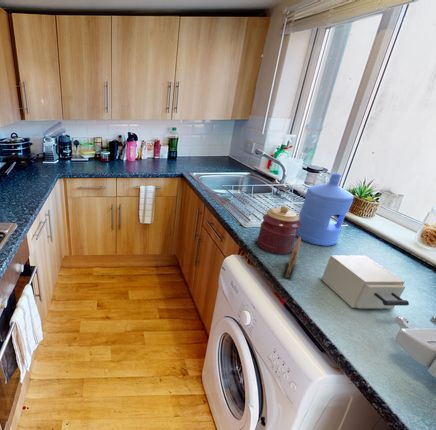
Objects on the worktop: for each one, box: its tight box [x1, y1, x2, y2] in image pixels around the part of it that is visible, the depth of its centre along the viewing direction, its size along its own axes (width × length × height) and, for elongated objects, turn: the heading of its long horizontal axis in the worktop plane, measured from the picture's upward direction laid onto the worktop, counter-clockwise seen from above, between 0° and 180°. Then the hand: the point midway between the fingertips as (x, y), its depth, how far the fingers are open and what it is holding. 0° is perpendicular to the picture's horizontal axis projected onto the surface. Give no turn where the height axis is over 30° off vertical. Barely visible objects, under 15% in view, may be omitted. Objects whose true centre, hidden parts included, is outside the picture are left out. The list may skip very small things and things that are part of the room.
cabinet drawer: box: [356, 284, 410, 309], centre depth 85 cm, size 17×10×8 cm, turn 1°
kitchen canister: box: [256, 205, 300, 255], centre depth 112 cm, size 13×13×18 cm
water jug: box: [296, 173, 355, 247], centre depth 118 cm, size 16×16×28 cm
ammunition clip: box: [283, 236, 302, 280], centre depth 98 cm, size 11×2×12 cm, turn 143°
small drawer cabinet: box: [321, 254, 405, 309], centre depth 89 cm, size 14×12×10 cm
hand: (415, 318), depth 72 cm, fingers open, 8 cm apart
